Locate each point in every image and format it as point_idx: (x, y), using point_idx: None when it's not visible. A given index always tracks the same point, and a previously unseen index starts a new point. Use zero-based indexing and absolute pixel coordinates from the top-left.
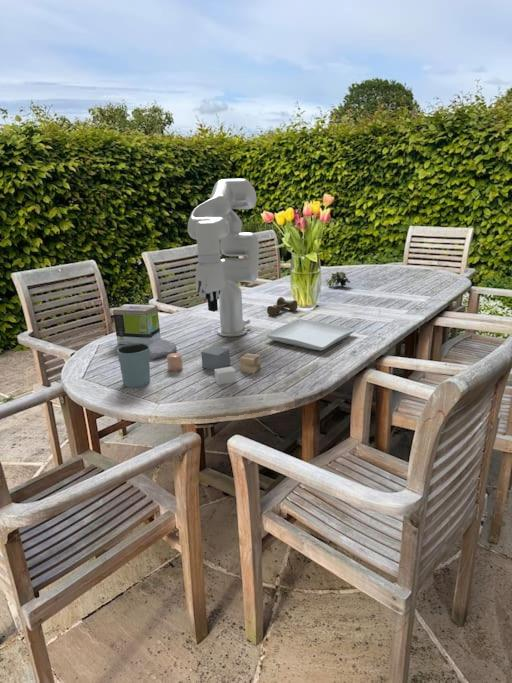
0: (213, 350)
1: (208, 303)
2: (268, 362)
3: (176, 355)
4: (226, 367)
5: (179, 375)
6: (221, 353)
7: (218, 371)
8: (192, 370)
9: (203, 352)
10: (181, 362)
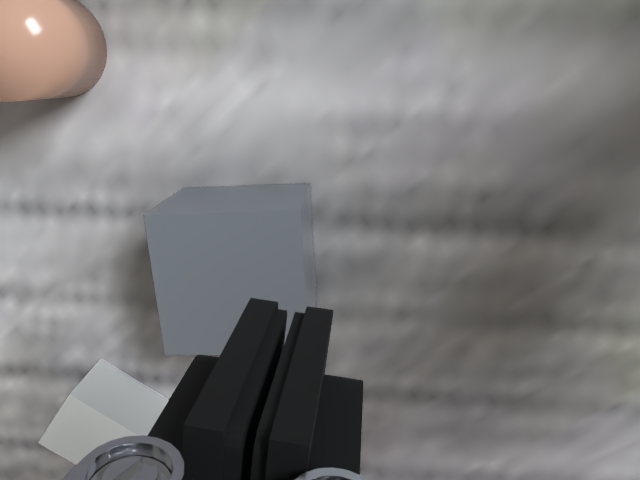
0: (218, 275)
1: (161, 429)
2: (454, 460)
3: (12, 54)
4: (131, 434)
5: (11, 149)
6: (210, 354)
7: (61, 430)
8: (112, 165)
9: (147, 235)
10: (55, 95)
